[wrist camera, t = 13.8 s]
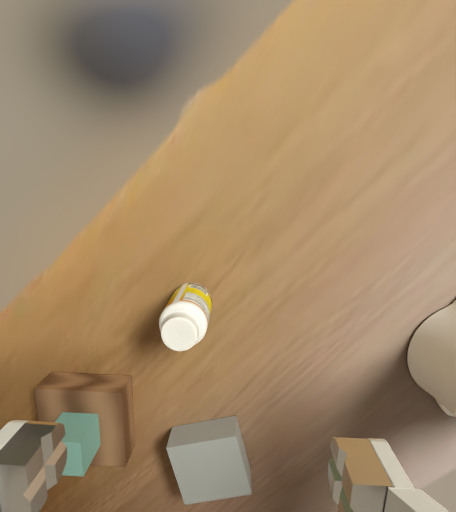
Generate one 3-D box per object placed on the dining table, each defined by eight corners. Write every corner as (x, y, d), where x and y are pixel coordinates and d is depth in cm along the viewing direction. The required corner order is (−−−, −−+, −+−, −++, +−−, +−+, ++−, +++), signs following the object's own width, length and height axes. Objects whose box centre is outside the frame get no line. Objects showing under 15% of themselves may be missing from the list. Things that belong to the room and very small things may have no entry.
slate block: (236, 415, 48) (235, 436, 44) (250, 470, 50) (251, 494, 46) (172, 427, 48) (166, 448, 45) (189, 480, 51) (184, 504, 47)
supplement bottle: (177, 322, 45) (159, 362, 35) (168, 285, 44) (147, 315, 34) (216, 315, 44) (209, 354, 34) (208, 278, 43) (198, 306, 33)
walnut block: (131, 375, 47) (121, 392, 43) (134, 444, 49) (125, 466, 46) (51, 371, 47) (34, 388, 43) (58, 440, 50) (43, 462, 46)
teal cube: (98, 413, 44) (80, 442, 39) (100, 444, 45) (83, 476, 40) (62, 412, 44) (40, 440, 39) (65, 442, 45) (44, 474, 40)
